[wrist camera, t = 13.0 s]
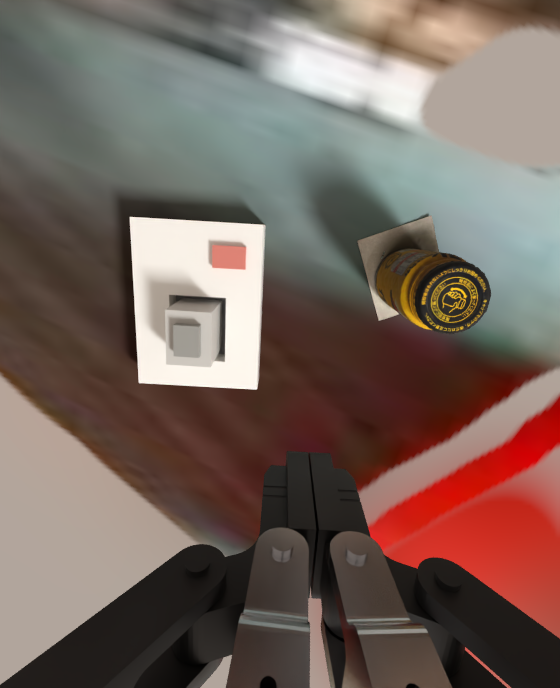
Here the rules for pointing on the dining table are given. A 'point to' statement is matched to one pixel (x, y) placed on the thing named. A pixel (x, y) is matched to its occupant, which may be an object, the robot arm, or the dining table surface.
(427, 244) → the condiment
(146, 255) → the socket plate
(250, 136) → the dining table surface
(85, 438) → the dining table surface
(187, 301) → the plug
